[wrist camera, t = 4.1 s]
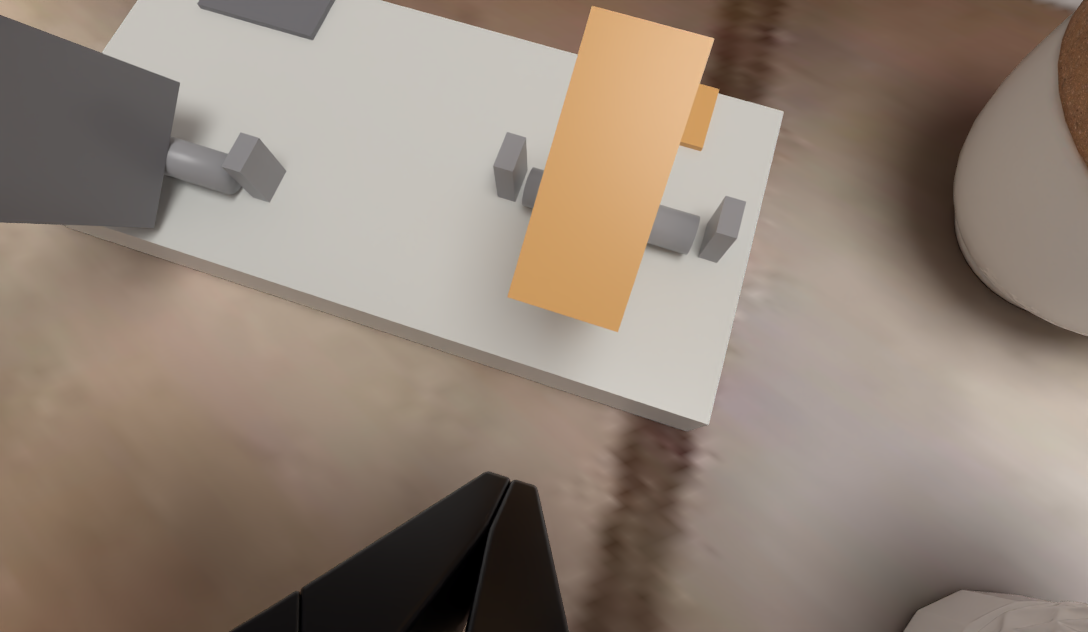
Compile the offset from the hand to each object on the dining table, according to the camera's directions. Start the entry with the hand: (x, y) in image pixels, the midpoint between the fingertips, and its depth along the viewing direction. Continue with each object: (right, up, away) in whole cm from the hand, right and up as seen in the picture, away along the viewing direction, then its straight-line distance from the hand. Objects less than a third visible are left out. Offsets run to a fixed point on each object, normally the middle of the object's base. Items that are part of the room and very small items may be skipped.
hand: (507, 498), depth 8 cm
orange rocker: (+3, +6, +9) cm, 11 cm away
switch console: (-4, +8, +12) cm, 15 cm away
